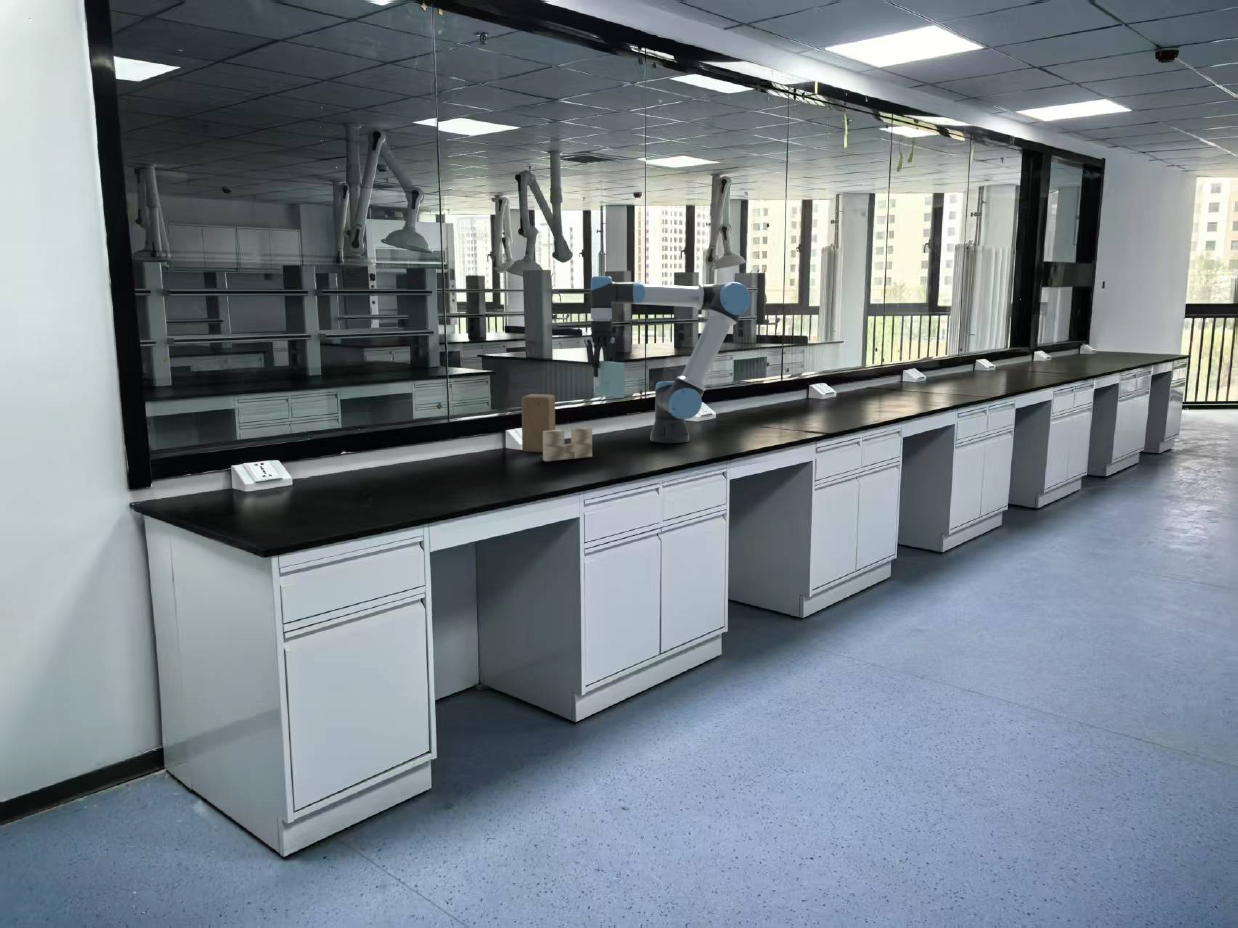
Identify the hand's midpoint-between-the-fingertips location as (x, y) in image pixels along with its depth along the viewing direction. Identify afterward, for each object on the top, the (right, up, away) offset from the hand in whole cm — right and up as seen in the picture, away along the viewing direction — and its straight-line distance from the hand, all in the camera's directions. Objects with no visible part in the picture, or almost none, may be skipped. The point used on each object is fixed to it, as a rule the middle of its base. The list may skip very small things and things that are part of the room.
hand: (601, 385), depth 322 cm
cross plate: (+3, -4, -4) cm, 6 cm away
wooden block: (-23, -24, 0) cm, 33 cm away
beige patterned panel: (-11, -26, -16) cm, 33 cm away
